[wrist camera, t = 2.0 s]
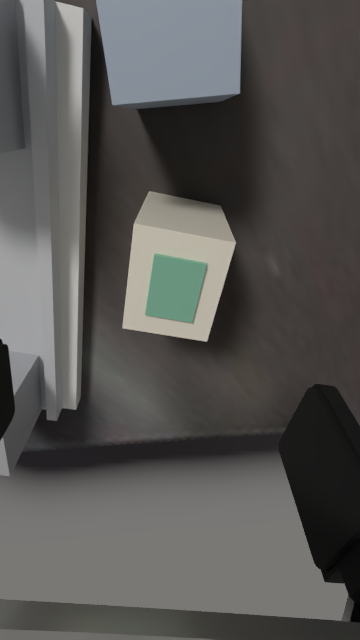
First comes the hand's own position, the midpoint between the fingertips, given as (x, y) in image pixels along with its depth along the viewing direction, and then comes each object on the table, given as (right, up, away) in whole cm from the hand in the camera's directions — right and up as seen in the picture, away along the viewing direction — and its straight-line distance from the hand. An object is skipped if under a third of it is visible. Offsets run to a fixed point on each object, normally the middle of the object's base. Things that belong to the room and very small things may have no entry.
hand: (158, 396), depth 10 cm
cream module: (+1, +8, +11) cm, 13 cm away
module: (0, +16, +6) cm, 17 cm away
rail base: (-11, +7, +12) cm, 17 cm away
